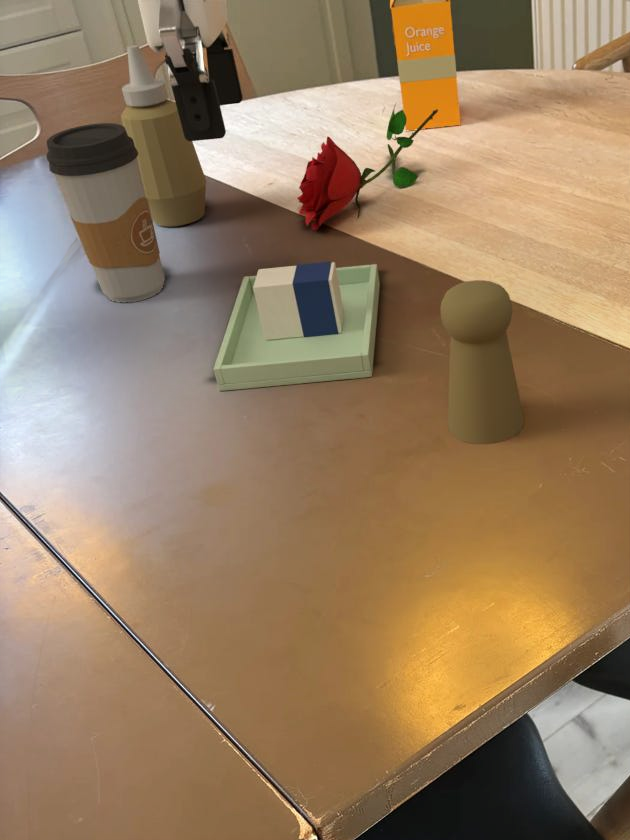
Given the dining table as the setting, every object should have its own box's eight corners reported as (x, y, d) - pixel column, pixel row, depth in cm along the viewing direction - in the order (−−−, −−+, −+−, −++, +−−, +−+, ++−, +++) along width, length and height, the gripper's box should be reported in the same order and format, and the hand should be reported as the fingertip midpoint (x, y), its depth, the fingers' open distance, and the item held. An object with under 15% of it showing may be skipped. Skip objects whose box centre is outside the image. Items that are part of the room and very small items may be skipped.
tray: (219, 391, 87) (213, 369, 86) (248, 297, 101) (243, 276, 100) (372, 377, 87) (368, 354, 85) (379, 284, 101) (376, 263, 99)
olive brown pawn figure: (459, 451, 77) (444, 313, 69) (439, 413, 81) (423, 279, 74) (534, 433, 78) (527, 295, 70) (511, 397, 82) (502, 264, 75)
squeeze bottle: (194, 201, 124) (150, 33, 112) (226, 216, 119) (184, 43, 107) (134, 221, 120) (81, 50, 108) (164, 237, 115) (113, 60, 103)
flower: (408, 51, 123) (276, 153, 106) (474, 93, 123) (353, 201, 106) (389, 119, 131) (263, 225, 113) (452, 158, 131) (336, 270, 113)
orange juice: (458, 107, 144) (444, -62, 131) (461, 125, 138) (446, -51, 124) (404, 113, 144) (383, -55, 131) (404, 131, 138) (383, -44, 124)
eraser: (265, 341, 92) (252, 286, 89) (270, 321, 95) (258, 268, 92) (341, 334, 92) (331, 279, 89) (344, 314, 95) (334, 260, 92)
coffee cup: (147, 310, 101) (97, 151, 91) (78, 305, 103) (21, 149, 93) (191, 276, 106) (148, 122, 96) (124, 271, 109) (75, 120, 99)
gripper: (128, -147, 78) (189, 96, 90) (70, -121, 66) (149, 158, 77) (225, -157, 78) (273, 87, 90) (185, -133, 65) (247, 149, 77)
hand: (215, 120), depth 83 cm, fingers open, 9 cm apart
